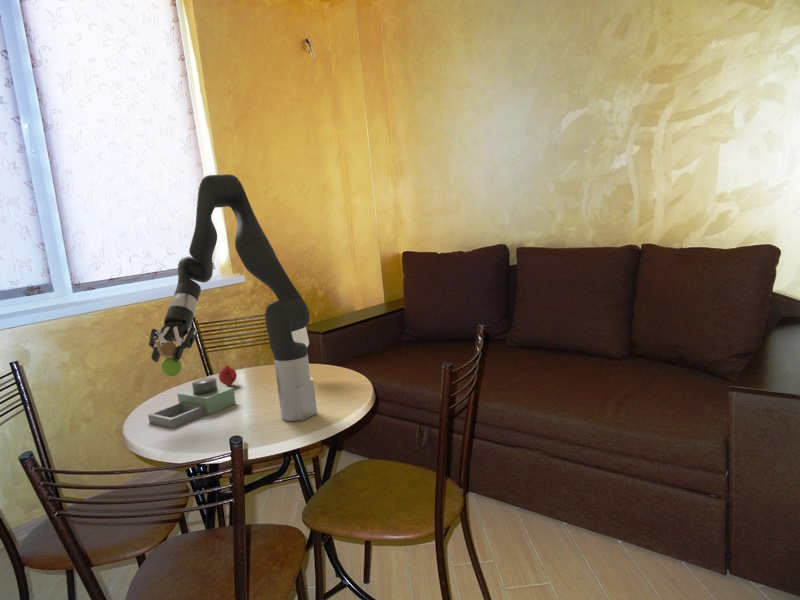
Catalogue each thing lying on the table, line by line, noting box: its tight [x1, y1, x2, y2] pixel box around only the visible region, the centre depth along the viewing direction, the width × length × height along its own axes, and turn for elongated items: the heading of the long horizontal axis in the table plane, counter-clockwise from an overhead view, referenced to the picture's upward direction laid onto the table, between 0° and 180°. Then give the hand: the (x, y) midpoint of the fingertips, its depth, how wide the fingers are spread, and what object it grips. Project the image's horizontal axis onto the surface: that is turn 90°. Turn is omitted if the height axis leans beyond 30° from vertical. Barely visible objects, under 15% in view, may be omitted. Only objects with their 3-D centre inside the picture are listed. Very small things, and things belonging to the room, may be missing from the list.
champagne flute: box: [292, 326, 314, 381], centre depth 177 cm, size 7×7×24 cm
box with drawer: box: [147, 377, 236, 429], centre depth 155 cm, size 14×21×8 cm, turn 148°
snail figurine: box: [154, 336, 183, 377], centre depth 149 cm, size 5×6×12 cm
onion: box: [218, 363, 237, 387], centre depth 179 cm, size 6×6×8 cm
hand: (165, 360), depth 147 cm, fingers closed on snail figurine, 6 cm apart
